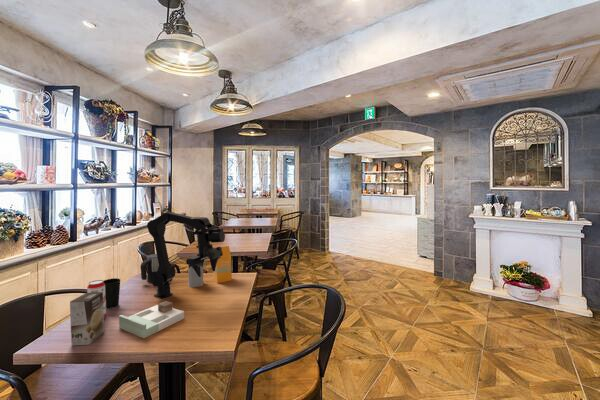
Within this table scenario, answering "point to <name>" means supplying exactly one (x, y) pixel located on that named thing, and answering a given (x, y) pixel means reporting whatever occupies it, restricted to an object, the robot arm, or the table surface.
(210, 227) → the robot arm
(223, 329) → the table surface
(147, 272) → the milk frother
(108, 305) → the cup
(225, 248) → the orange juice
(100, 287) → the beer can
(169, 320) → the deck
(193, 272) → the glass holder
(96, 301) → the coffee box
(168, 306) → the block
